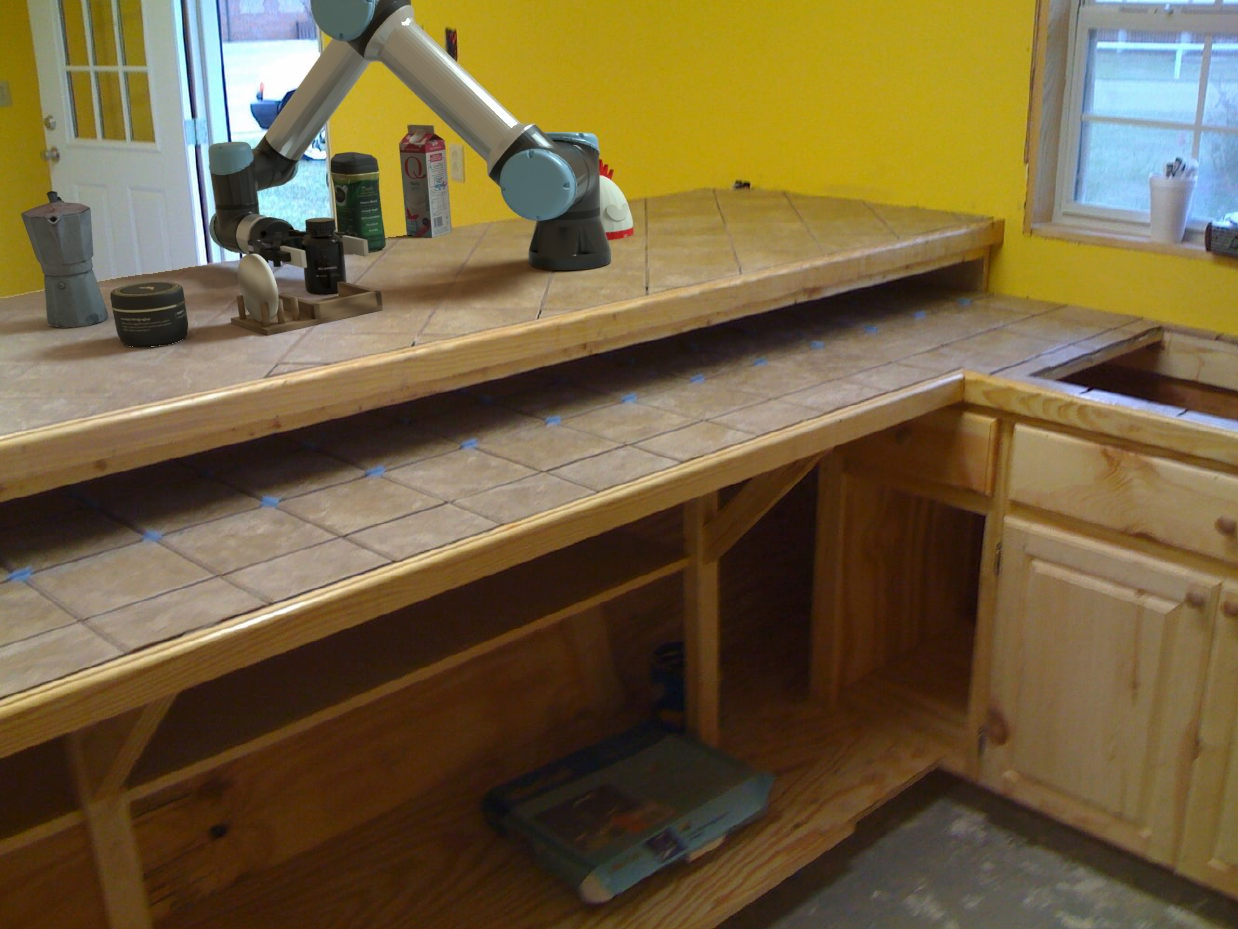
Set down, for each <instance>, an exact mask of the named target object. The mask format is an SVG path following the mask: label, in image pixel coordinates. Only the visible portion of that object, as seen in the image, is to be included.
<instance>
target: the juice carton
mask: <svg viewBox="0 0 1238 929" xmlns="http://www.w3.org/2000/svg"><path fill="white" fill-rule="evenodd" d="M406 126H407V133H406V134H405V135H404V136H403V137H402V139H401V140H400V141H399V142H398V148H399V149H398V150H399V161H400V171H401V173H400V174H401V182H402V194H403V208H404V218H405V219H404V220H405V230H406V236H407V237H408V235H412V236H411V237H420V238H421V237H422V238H431V239H433V238H436V237H440V236H443V235H447V234H450V233H452V230H453V229H452V218H451V217H452V215H451V204H450V191H449V190H450V189H449V178H448V177H449V174H448V164H447V163H448V162H447V150H446V140H445V139H444V138H442V137H441V136H439V135H438V134H436V132H435V125H434V124H433V125H432V124H407V125H406Z"/></svg>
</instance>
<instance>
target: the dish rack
mask: <svg viewBox="0 0 1238 929" xmlns="http://www.w3.org/2000/svg"><path fill="white" fill-rule="evenodd" d="M237 284H238V286H237V287H238V290H239V291H238V292H239V295H236V303H237V304H236V305H237V310H238V316H233V317H230V324H233V325H236V326H239V327H242V328H245V329H248V330H250V331H254V332H255V333H261V334H263V335H266V336H271V335H277V334H280V333H285V332H289V331H294V330H299V329H303V328H307V327H312V326H313V327H314V326H317V325H321V324H325V323H329V322H335V321H339V320H343V319H347V318H353V317H358V316H363V315H366V314H371V313H376V312H379V311H384V310H383V309H384V308H383V299H382V291H381V290H379V289H373V288H370V287H365V286H362V285H359V284H355V283H349V282H348V281H347V282H343V281H341V282H337V287H338V295H336V296H330V297H325V298H321V299H315V300H312V301H310V300H307V299H303V298H299V297H298V296H296V295H295V296H294V295H293V296H292V295H289V294H285V293H279V291H278V285H277V281H276V278H275V274H274V273H273V270H272V269H271V267H270V265H269V263H267V262H266V261H265V260H264V259H263V258H262V257H261V256H260V255H257V254H250V255H246V254H244V256H242V257H241V259H240V260H239V263H238V266H237ZM246 311H247V312H248V314H247V313H246Z"/></svg>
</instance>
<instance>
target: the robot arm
mask: <svg viewBox="0 0 1238 929" xmlns="http://www.w3.org/2000/svg"><path fill="white" fill-rule="evenodd" d="M309 3H310V11H311V15H312V18H313V20H314V22H315V24H316V26H317V27H318V28H319V29H320V31H322V32H323V34H325V35H326V36H328V37H329V38H331V40H330V41H329V42H328V44H327V45H326V47H325V48H324V50H323V51H322V52H321V54H320V55H319V57H318V58H317V59H316V61H315V63H314V64H313V65H312V67H311V68H310V70H309V71H308V72H307V74H306V75H305V77H304V78H303V80H302V81H301V82H300V84H299V85H298V86H297V88H296V89H295V91H294V92H293V93H292V95H291V97H290V98H289V99H288V101H287V102H286V104H285V105H284V106H283V108H282V109H281V110H280V112H279V114H278V115H277V117H275V119H274V121H273V122H272V124H271V125H270V126H269V128H268V129H267V130H266V133H265V134H264V135H263V136H262V138H261V139H260V141H259V142H258V143H257V145H256V146H255V147H254V148H252V146H251V144H249V143H248V142H246V141H224V142H217V143H212V144H211V145H210V146H209V147H208V150H207V151H208V162H209V164H208V170H209V175H210V179H211V185H212V191H213V199H214V204H215V213H214V214H213V215H212V216H211V219H210V220H209V225H208V232H209V235H210V237H211V239H212V241H213V242H214V243H215V244H216V245H217V246H218V247H220V248H222V249H224V250H226V251H228V252H231V253H235V254H240V255H250V254H257V255H260V256H261V257H262V258H263V259H264V260H265V261H266V262H267V263H268V264H269V263H270V262H272V265H273V268H280V267H282V264H284V265H288V266H289V265H290V266H293V267H296V268H300V269H304V268H306V267H307V263H306V255H305V251H304V250H302V248H301V242H302V239H303V238H304V237H305V236H306V235H308V232H306V230H299V229H295V227H294V226H293V225H292V224H291V223H289V222H288V221H287V220H285V219H282V218H278V217H273V216H271V215H270V216H269V215H266V214H265V215H264V214H260V213H261V212H260V207H259V206H260V202H259V196H258V192H260V191H265V190H268V189H270V188H271V189H272V188H277V187H281V186H283V185H286V184H287V183H289V182H290V181H292V180H293V179H294V178H295V177H297V174H298V172H299V165H300V164H299V161H300V160H301V158H302V157H303V156H304V154H305V153H306V152H307V150H308V149H309V147H310V146H311V145H312V144H313V142H314V141H315V139H316V138H317V137H318V135H319V134H320V133H321V131H322V129H323V128H324V127H325V126H326V125H327V124H328V122H329V120H330V119H331V117H332V116H333V115H334V113H335V112H336V110H337V109H338V108H339V106H340V105H341V104H342V103H343V101H344V100H345V99H346V97H347V96H348V94H349V93H350V91H352V89H353V88H354V86H355V85H356V83H357V82H358V80H360V78H361V76H362V75H363V74H364V72H366V70H367V69H368V67H369V66H370V64H371V63H373V62H374V63H382V65H384V67H386V68H387V69H388V70H389V71H390V72H391V73H392V74H393V75H394V76H395V77H396V78H397V79H399V81H400V82H402V83H403V84H404V85H405V86H406V87H407V88H408V89H409V90H410V92H412V93H413V94H414V95H416V97H417V98H418V99H419V100H420V101H421V102H422V103H423V104H425V105H426V106H427V107H428V108H429V109H430V110H431V111H432V112H433V114H435V115H437V117H438V118H440V119H441V120H442V121H443V122H444V123H445V124H446V125H447V126H448V127H449V128H450V129H451V130H452V131H453V132H454V133H455V134H456V135H458V137H459V138H460V139H462V140H463V141H464V142H465V143H466V144H467V145H468V146H469V147H470V148H471V149H472V150H473V151H474V152H475V153H476V154H478V155H479V157H480V158H482V159H483V160H484V161H485V163H486V169H487V172H486V173H487V176H488V177H489V178H490V179H491V180H492V181H493V182H494V183H495V184H496V185H497V186H498V187H499V189H500V194H501V196H502V199H503V202H505V204H506V205H507V207H508V208H509V209H510V210H511V211H512V212H513V213H515V214H516V215H517V216H519V217H521V218H523V219H526V220H528V221H533V222H534V221H535V225H534V229H533V233H532V237H531V239H530V244H529V248H528V252H527V254H528V264H529V266H532V267H534V268H537V269H543V270H550V271H551V270H552V271H553V270H554V271H576V270H588V269H596V268H599V267H604V266H606V265H608V264H610V263H612V249H611V245H610V242H609V240H608V239H607V236H606V233H605V230H604V227H603V225H602V222H601V215H600V173H599V159H600V155H601V154H600V153H601V150H600V148H599V139H598V137H597V135H595V134H594V133H592V132H591V133H590V132H574V131H573V132H566V131H565V132H564V131H563V132H562V131H559V132H558V131H557V132H556V131H553V132H552V131H551V132H550V131H549V132H546V131H545V132H544V131H543V130H542V129H541V128H540V127H539V126H538V125H537V124H536V123H533V122H532V123H522V122H520V121H519V120H518V119H517V118H516V116H514V115H513V114H512V113H511V112H509V111H508V110H507V108H505V106H503V105H502V104H501V102H500V101H498V100H497V99H496V98H495V97H494V96H493V95H492V94H491V93H490V92H489V91H487V89H485V87H483V85H481V84H480V83H479V82H478V81H477V80H476V79H475V78H474V77H473V76H472V75H471V74H470V73H469V72H468V71H467V70H466V69H465V68H463V66H462V65H460V64H459V62H457V61H456V60H455V58H453V57H452V56H451V55H450V54H449V53H448V52H447V51H446V50H445V49H444V48H442V46H440V45H439V43H437V42H436V41H435V40H434V39H433V38H432V37H431V36H430V35H429V34H428V32H426V31H425V30H424V29H423V28H421V26H420V25H419V24H418V23H416V20H415V9H414V7H413V6H412V0H310V2H309ZM335 234H337V235H339V236H340V237H341V238H342V240H343V246H344V253H347V254H351V255H357V256H359V257H360V256H361V257H370V255H369V253H370V252H368V243H367V240H365V239H360V238H357V233H354V232H353V233H350V231H349V230H347V231H345V232H337V231H335Z"/></svg>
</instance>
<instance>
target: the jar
mask: <svg viewBox="0 0 1238 929" xmlns="http://www.w3.org/2000/svg"><path fill="white" fill-rule="evenodd" d="M109 296H110V297H109V298H110V303H111V304H110V308H111V309H112V313H113V320H114V325H115V330H116V334H117V336H118V337H119V340H120V341H121V343H122V344H123V345H124V344H125V345H124V346H126V345H127V346H126V347H128V346H131V347H130V348H134V347H151V346H159V345H166V346H169V345H168V344H171V345H173V344H172V343H174V344H176V343H175V342H177V343H179V342H178V341H180V340H182V339H184V340H185V339H186V337H187V335H188V331H189V319H188V312H187V307H186V302H187V299H186V297H185V291H184V287H183V285H181V284H180V283H177V282H172V281H145V282H138V283H137V282H136V283H131V284H127V285H122V286H119V287H116V288H114V289H113V290H111V291H110V295H109ZM182 341H183V340H182ZM180 342H181V341H180ZM132 346H133V347H132ZM151 348H152V347H151Z"/></svg>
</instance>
